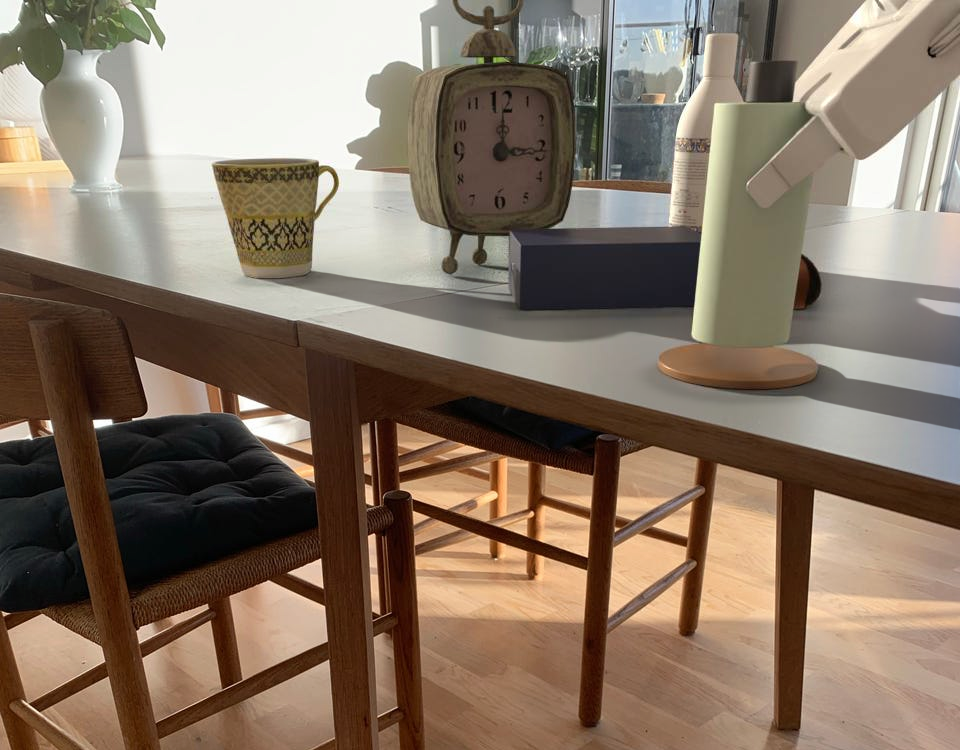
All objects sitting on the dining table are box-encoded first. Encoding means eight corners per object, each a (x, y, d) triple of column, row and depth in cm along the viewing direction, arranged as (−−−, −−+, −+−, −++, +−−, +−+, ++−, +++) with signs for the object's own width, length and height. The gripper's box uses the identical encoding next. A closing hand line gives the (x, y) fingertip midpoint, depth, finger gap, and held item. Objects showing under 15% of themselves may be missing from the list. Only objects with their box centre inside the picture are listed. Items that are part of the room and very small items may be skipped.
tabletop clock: (438, 279, 90) (429, -40, 78) (405, 266, 98) (392, -29, 85) (571, 268, 96) (582, -34, 83) (530, 256, 103) (535, -23, 90)
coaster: (784, 348, 66) (786, 340, 65) (842, 387, 57) (843, 378, 57) (643, 351, 65) (643, 344, 65) (679, 391, 57) (680, 383, 56)
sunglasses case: (679, 266, 92) (721, 202, 89) (736, 304, 94) (779, 242, 91) (717, 303, 77) (769, 226, 74) (784, 347, 79) (838, 274, 76)
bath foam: (718, 256, 101) (743, 36, 91) (744, 267, 95) (773, 32, 85) (656, 259, 100) (674, 36, 90) (678, 269, 94) (700, 32, 84)
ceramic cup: (259, 285, 89) (244, 166, 84) (208, 272, 95) (192, 161, 90) (371, 269, 96) (365, 159, 91) (318, 258, 102) (309, 155, 97)
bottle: (769, 326, 63) (807, 62, 55) (802, 347, 58) (848, 58, 50) (681, 328, 62) (706, 63, 55) (706, 349, 57) (737, 60, 50)
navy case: (681, 284, 87) (687, 226, 85) (712, 306, 79) (719, 241, 76) (507, 288, 86) (507, 229, 84) (518, 310, 78) (519, 245, 75)
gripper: (1068, 26, 41) (801, 260, 48) (950, 45, 59) (766, 214, 65) (986, -97, 40) (722, 161, 46) (890, -41, 57) (708, 142, 64)
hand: (747, 192), depth 56 cm, fingers closed on bottle, 6 cm apart
